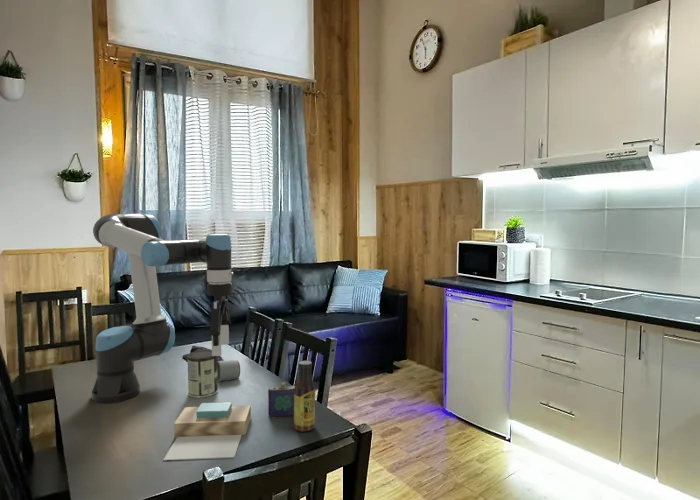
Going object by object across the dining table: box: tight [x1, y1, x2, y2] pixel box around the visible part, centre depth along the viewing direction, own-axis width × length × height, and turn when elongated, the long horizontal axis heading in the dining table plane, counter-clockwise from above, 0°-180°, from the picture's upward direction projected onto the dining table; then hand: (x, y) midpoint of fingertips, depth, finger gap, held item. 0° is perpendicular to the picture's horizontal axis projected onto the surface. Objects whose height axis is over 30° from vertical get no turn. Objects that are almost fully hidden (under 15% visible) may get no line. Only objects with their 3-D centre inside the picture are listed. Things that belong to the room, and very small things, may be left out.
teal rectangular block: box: [197, 401, 233, 418], centre depth 133 cm, size 9×6×2 cm, turn 95°
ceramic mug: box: [217, 359, 241, 383], centre depth 173 cm, size 11×8×8 cm
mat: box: [162, 435, 243, 462], centre depth 121 cm, size 18×12×1 cm, turn 95°
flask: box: [267, 381, 295, 419], centre depth 140 cm, size 9×3×11 cm, turn 103°
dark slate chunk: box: [182, 345, 225, 362], centre depth 196 cm, size 15×22×5 cm
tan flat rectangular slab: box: [173, 404, 252, 438], centre depth 133 cm, size 20×11×4 cm, turn 95°
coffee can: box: [187, 349, 219, 399], centre depth 159 cm, size 10×10×14 cm
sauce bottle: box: [293, 360, 316, 433], centre depth 132 cm, size 7×6×20 cm
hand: (220, 349), depth 142 cm, fingers open, 12 cm apart
